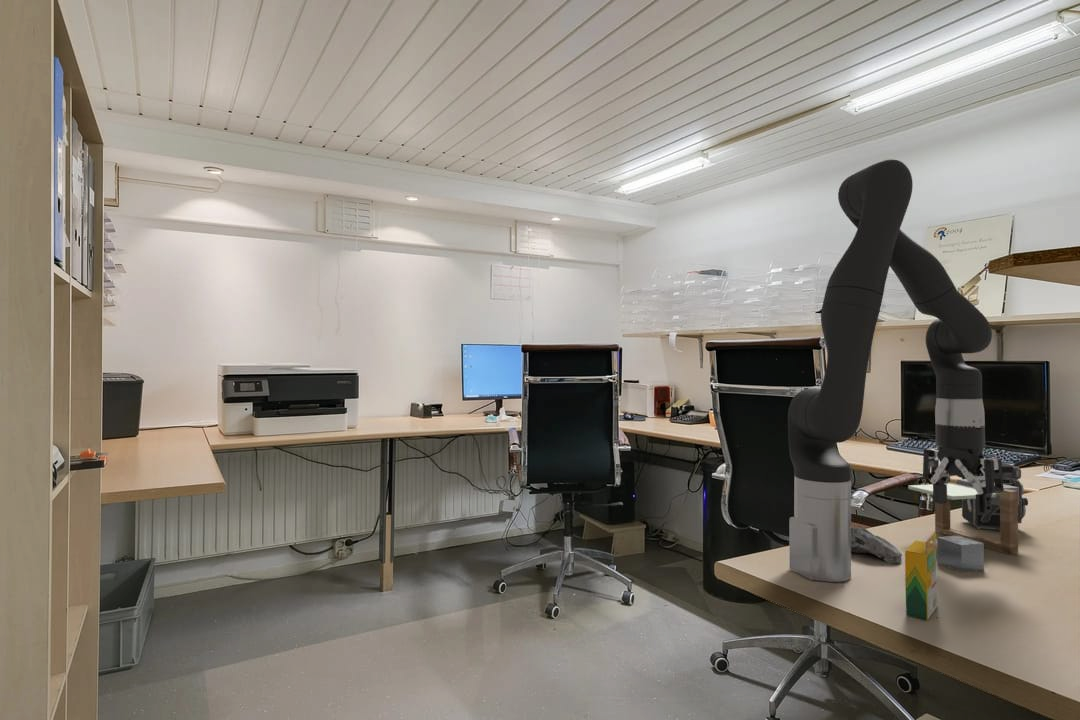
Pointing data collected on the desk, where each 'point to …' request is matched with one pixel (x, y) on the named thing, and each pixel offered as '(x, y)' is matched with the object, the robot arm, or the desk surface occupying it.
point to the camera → (993, 518)
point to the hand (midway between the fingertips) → (961, 508)
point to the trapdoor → (962, 491)
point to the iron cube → (960, 553)
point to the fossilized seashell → (873, 545)
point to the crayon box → (921, 579)
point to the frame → (1006, 523)
